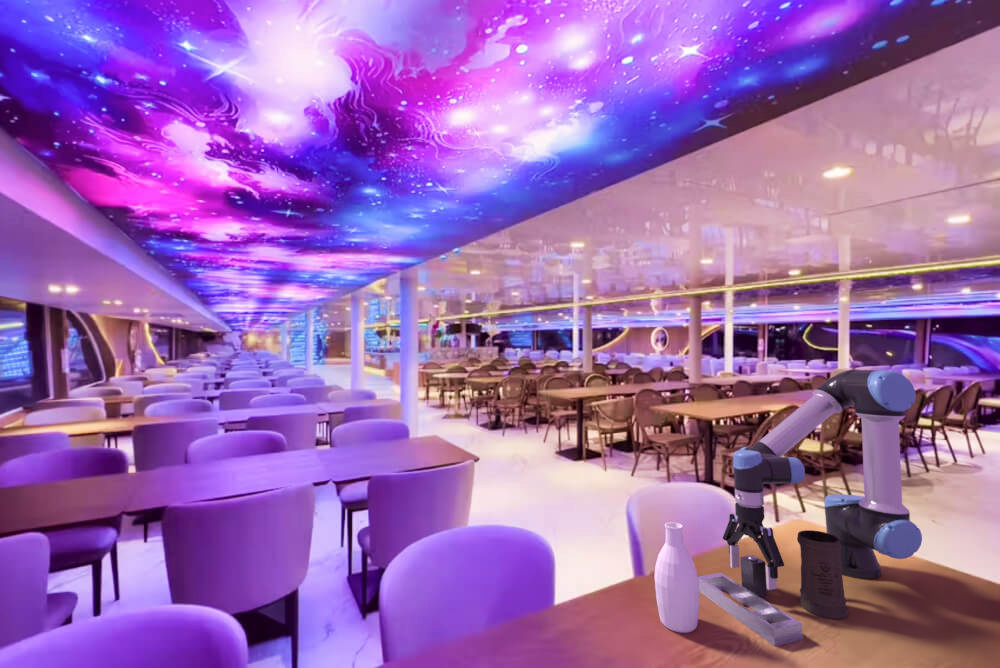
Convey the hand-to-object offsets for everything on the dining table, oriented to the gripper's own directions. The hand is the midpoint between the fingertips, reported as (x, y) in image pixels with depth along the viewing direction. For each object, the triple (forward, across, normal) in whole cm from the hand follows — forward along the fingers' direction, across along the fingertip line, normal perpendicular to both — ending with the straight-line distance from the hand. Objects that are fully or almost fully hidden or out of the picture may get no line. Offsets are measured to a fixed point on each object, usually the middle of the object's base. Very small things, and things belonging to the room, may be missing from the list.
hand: (752, 577), depth 132 cm
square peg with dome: (+5, 0, 0) cm, 5 cm away
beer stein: (+5, +10, +13) cm, 17 cm away
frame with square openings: (+5, +7, -10) cm, 13 cm away
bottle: (+5, +6, -30) cm, 31 cm away
